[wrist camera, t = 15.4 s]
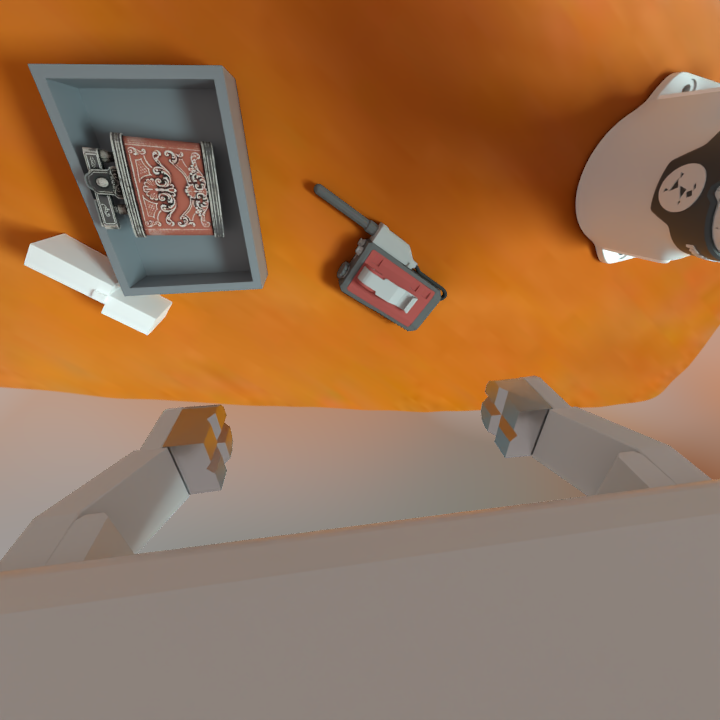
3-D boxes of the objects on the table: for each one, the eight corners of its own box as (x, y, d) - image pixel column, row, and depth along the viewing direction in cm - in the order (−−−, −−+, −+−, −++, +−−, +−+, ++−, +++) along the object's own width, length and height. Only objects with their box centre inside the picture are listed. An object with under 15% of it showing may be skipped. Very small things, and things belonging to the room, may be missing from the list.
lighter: (210, 144, 31) (78, 131, 27) (211, 140, 28) (64, 125, 24) (222, 235, 34) (108, 235, 30) (225, 239, 32) (99, 240, 28)
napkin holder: (24, 229, 33) (-25, 241, 29) (129, 198, 33) (98, 205, 28) (117, 350, 41) (91, 375, 37) (202, 326, 41) (187, 348, 36)
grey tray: (235, 79, 29) (222, 65, 25) (267, 274, 38) (262, 288, 34) (70, 78, 28) (27, 63, 23) (145, 280, 37) (124, 296, 33)
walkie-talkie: (454, 276, 42) (319, 175, 34) (468, 288, 38) (320, 177, 30) (412, 329, 45) (280, 248, 37) (421, 345, 41) (276, 258, 34)
